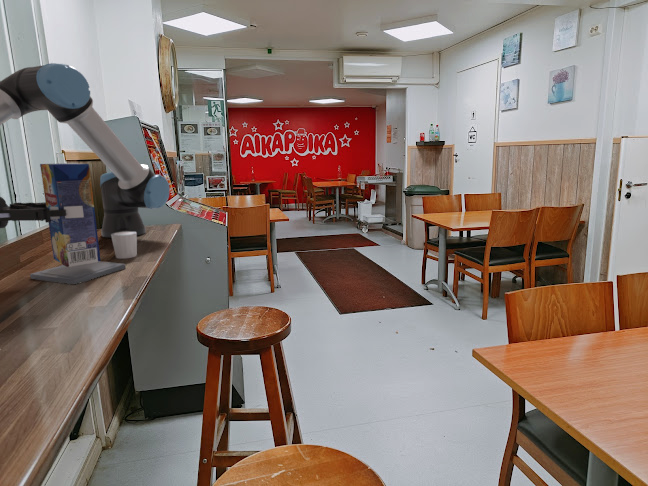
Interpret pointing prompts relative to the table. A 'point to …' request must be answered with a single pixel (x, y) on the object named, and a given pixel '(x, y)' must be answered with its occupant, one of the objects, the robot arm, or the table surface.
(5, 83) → the robot arm
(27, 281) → the table surface
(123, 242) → the white cup
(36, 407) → the table surface
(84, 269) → the slate board
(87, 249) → the juice carton
